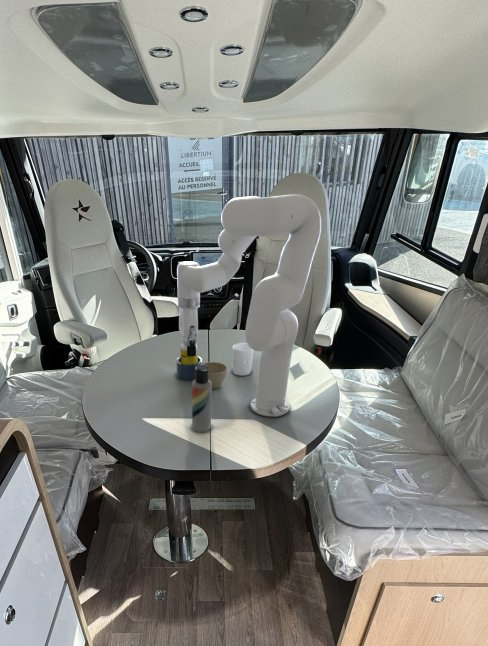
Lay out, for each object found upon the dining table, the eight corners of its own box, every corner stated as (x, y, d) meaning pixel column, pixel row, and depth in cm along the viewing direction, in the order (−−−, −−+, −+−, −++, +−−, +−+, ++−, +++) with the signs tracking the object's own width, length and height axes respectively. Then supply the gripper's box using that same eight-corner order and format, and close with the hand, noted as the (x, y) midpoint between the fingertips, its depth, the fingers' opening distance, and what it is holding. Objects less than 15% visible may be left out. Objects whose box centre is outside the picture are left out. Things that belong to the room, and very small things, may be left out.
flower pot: (211, 395, 153) (211, 375, 148) (193, 385, 159) (193, 366, 155) (232, 387, 158) (233, 368, 154) (213, 377, 164) (214, 359, 160)
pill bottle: (178, 365, 165) (178, 336, 159) (194, 363, 167) (194, 334, 161) (184, 371, 161) (183, 342, 154) (200, 369, 163) (200, 340, 156)
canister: (204, 379, 163) (204, 363, 160) (179, 381, 161) (179, 366, 158) (198, 369, 170) (198, 354, 167) (174, 371, 169) (174, 356, 165)
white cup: (252, 376, 165) (254, 351, 159) (231, 376, 165) (233, 350, 159) (251, 368, 171) (253, 343, 165) (230, 367, 171) (232, 342, 166)
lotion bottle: (200, 421, 138) (200, 360, 127) (214, 427, 135) (216, 365, 124) (188, 428, 135) (187, 366, 123) (202, 434, 132) (203, 372, 120)
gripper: (173, 295, 156) (174, 344, 167) (183, 310, 142) (184, 362, 153) (193, 294, 157) (193, 343, 168) (206, 308, 144) (205, 360, 155)
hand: (189, 352), depth 160 cm, fingers closed on pill bottle, 6 cm apart
